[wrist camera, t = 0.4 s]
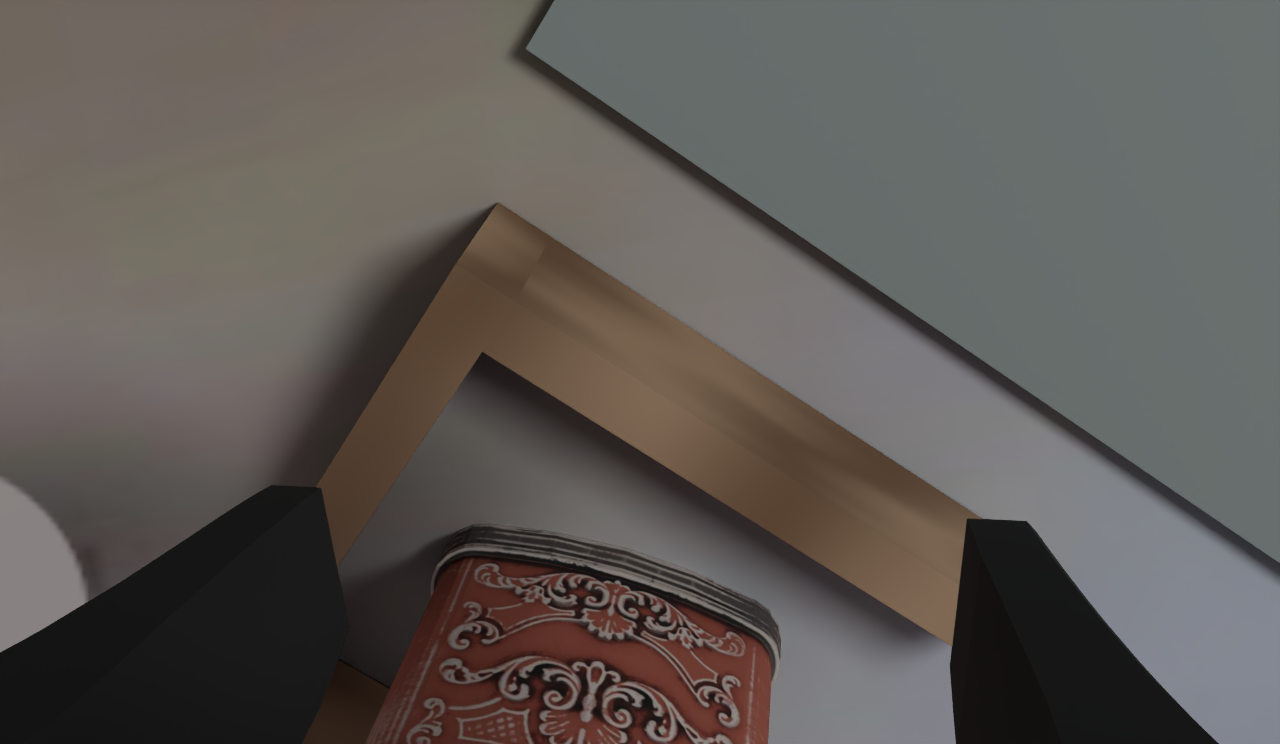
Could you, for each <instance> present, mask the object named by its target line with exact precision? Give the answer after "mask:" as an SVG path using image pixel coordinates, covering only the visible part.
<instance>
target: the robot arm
mask: <svg viewBox="0 0 1280 744" xmlns="http://www.w3.org/2000/svg"><path fill="white" fill-rule="evenodd" d="M348 629H349V624H348V619H347V614H346V609H345V604H344V599H343V594H342V589H341V584H340V579H339V574H338V569H337V564H336V559H335V554H334V549H333V544H332V539H331V534H330V529H329V524H328V519H327V514H326V509H325V504H324V499H323V494H322V489H321V488H317V487H296V486H275V485H271V486H269V487H268V488H266V489H264V490H262V491H260V492H259V493H257V494H255V495H253V496H252V497H250V498H248V499H247V500H245V501H244V502H242V503H240V504H239V505H237V506H236V507H234V508H233V509H231V510H230V511H228V512H226V513H225V514H223V515H222V516H220V517H219V518H217V519H216V520H214V521H213V522H211V523H210V524H208V525H207V526H205V527H204V528H202V529H201V530H199V531H198V532H196V533H195V534H193V535H192V536H190V537H189V538H187V539H186V540H184V541H183V542H181V543H180V544H178V545H177V546H175V547H174V548H172V549H170V550H169V551H167V552H166V553H164V554H163V555H161V556H160V557H158V558H157V559H155V560H154V561H152V562H151V563H149V564H148V565H146V566H145V567H143V568H142V569H140V570H138V571H137V572H135V573H134V574H132V575H131V576H129V577H128V578H126V579H125V580H123V581H122V582H120V583H118V584H117V585H115V586H113V587H112V588H110V589H108V590H107V591H105V592H103V593H102V594H100V595H98V596H97V597H95V598H94V599H92V600H90V601H89V602H87V603H85V604H84V605H82V606H80V607H79V608H77V609H75V610H74V611H72V612H70V613H69V614H67V615H65V616H64V617H62V618H60V619H59V620H57V621H55V622H54V623H52V624H51V625H49V626H47V627H46V628H44V629H42V630H40V631H39V632H37V633H35V634H33V635H32V636H30V637H28V638H26V639H25V640H23V641H21V642H19V643H17V644H15V645H13V646H12V647H10V648H8V649H6V650H4V651H2V652H1V653H0V744H302V742H303V740H304V738H305V736H306V734H307V732H308V730H309V728H310V726H311V724H312V722H313V720H314V718H315V716H316V714H317V712H318V710H319V709H320V707H321V705H322V702H323V699H324V697H325V694H326V691H327V689H328V686H329V683H330V681H331V678H332V676H333V673H334V670H335V667H336V664H337V661H338V659H339V656H340V653H341V650H342V647H343V644H344V641H345V638H346V635H347V632H348ZM950 673H951V687H952V700H953V714H954V726H955V737H956V744H1219V743H1217V742H1216V741H1215V740H1214V739H1213V738H1212V737H1211V736H1210V735H1209V734H1208V733H1207V732H1206V731H1205V730H1204V729H1203V728H1202V727H1201V726H1200V725H1199V724H1198V723H1197V722H1196V721H1195V720H1194V719H1193V718H1192V717H1191V716H1190V715H1189V714H1188V713H1187V712H1186V711H1185V710H1184V709H1183V708H1182V707H1181V706H1180V705H1179V704H1178V703H1177V702H1176V701H1175V700H1174V699H1173V698H1172V697H1171V695H1170V694H1169V693H1168V692H1167V691H1166V690H1165V689H1164V688H1163V687H1162V686H1161V685H1160V684H1159V683H1158V682H1157V681H1156V680H1155V678H1154V677H1153V676H1152V675H1151V674H1150V673H1149V672H1148V671H1147V670H1146V669H1145V667H1144V666H1143V665H1142V664H1141V663H1140V662H1139V661H1138V660H1137V658H1136V657H1135V656H1134V655H1133V654H1132V653H1131V651H1130V650H1129V649H1128V648H1127V647H1126V646H1125V644H1124V643H1123V642H1122V641H1121V640H1120V639H1119V637H1118V636H1117V635H1116V634H1115V633H1114V632H1113V630H1112V629H1111V628H1110V627H1109V626H1108V625H1107V623H1106V622H1105V621H1104V620H1103V619H1102V617H1101V616H1100V615H1099V614H1098V612H1097V611H1096V610H1095V609H1094V607H1093V606H1092V605H1091V604H1090V602H1089V601H1088V600H1087V599H1086V597H1085V596H1084V595H1083V594H1082V592H1081V591H1080V590H1079V588H1078V587H1077V586H1076V585H1075V583H1074V582H1073V581H1072V579H1071V578H1070V577H1069V575H1068V574H1067V573H1066V571H1065V570H1064V569H1063V568H1062V566H1061V565H1060V564H1059V562H1058V561H1057V559H1056V558H1055V557H1054V555H1053V554H1052V553H1051V551H1050V550H1049V549H1048V547H1047V546H1046V544H1045V543H1044V542H1043V540H1042V539H1041V538H1040V536H1039V535H1038V533H1037V532H1036V531H1035V530H1034V529H1033V528H1032V527H1031V525H1030V524H1029V523H1028V522H1027V521H1012V520H991V519H970V518H967V522H966V530H965V539H964V548H963V557H962V565H961V574H960V583H959V592H958V600H957V609H956V618H955V626H954V635H953V644H952V653H951V661H950Z"/></svg>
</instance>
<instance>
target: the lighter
mask: <svg viewBox="0 0 1280 744" xmlns="http://www.w3.org/2000/svg"><path fill="white" fill-rule="evenodd" d="M780 650H781V636H780V631H779V626H778V622H777V621H776V619H775V618H774V616H773V615H772V613H771V612H770V611H769V610H768V609H767V608H766V607H764V606H763V605H761V604H760V603H759V602H757V601H756V600H753V599H751V598H749V597H747V596H745V595H743V594H741V593H738V592H736V591H734V590H732V589H730V588H728V587H725V586H723V585H721V584H719V583H717V582H715V581H713V580H710V579H708V578H706V577H704V576H702V575H700V574H697V573H695V572H693V571H690V570H687V569H684V568H681V567H678V566H675V565H673V564H670V563H667V562H664V561H661V560H658V559H655V558H653V557H650V556H647V555H644V554H641V553H638V552H636V551H633V550H630V549H627V548H622V547H618V546H614V545H609V544H605V543H600V542H596V541H592V540H587V539H583V538H579V537H574V536H570V535H565V534H561V533H556V532H548V531H541V530H533V529H525V528H518V527H510V526H502V525H494V524H479V525H472V526H470V527H467V528H465V529H463V530H460V531H459V532H457V533H456V534H455V535H454V536H453V537H452V538H451V539H450V540H449V541H448V543H447V545H446V547H445V549H444V551H443V553H442V556H441V558H440V560H439V562H438V564H437V567H436V569H435V571H434V574H433V576H432V578H431V599H430V601H429V603H428V605H427V608H426V610H425V612H424V614H423V617H422V619H421V621H420V623H419V625H418V628H417V630H416V632H415V634H414V637H413V639H412V641H411V643H410V645H409V648H408V650H407V652H406V654H405V657H404V659H403V661H402V663H401V665H400V668H399V670H398V672H397V674H396V677H395V679H394V681H393V683H392V685H391V688H390V690H389V692H388V694H387V697H386V699H385V701H384V703H383V705H382V708H381V710H380V712H379V714H378V716H377V719H376V721H375V723H374V725H373V728H372V730H371V732H370V734H369V736H368V739H367V741H366V743H365V744H768V733H769V713H770V693H771V687H772V686H773V684H774V683H775V681H776V680H777V676H778V671H779V666H780Z"/></svg>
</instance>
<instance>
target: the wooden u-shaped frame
mask: <svg viewBox="0 0 1280 744" xmlns="http://www.w3.org/2000/svg"><path fill="white" fill-rule="evenodd" d="M482 352H484V353H485V354H487V355H488V356H490V357H492V358H493V359H495V360H496V361H498V362H499V363H501V364H503V365H504V366H506V367H507V368H509V369H511V370H512V371H514V372H515V373H517V374H519V375H520V376H522V377H523V378H525V379H527V380H528V381H530V382H531V383H533V384H535V385H536V386H538V387H539V388H541V389H543V390H544V391H546V392H547V393H549V394H550V395H552V396H554V397H555V398H557V399H558V400H560V401H562V402H563V403H565V404H566V405H568V406H570V407H571V408H573V409H574V410H576V411H578V412H579V413H581V414H582V415H584V416H586V417H587V418H589V419H590V420H592V421H594V422H595V423H597V424H598V425H600V426H601V427H603V428H605V429H606V430H608V431H609V432H611V433H613V434H614V435H616V436H617V437H619V438H621V439H622V440H624V441H625V442H627V443H629V444H630V445H632V446H633V447H635V448H637V449H638V450H640V451H641V452H643V453H645V454H646V455H648V456H649V457H651V458H652V459H654V460H656V461H657V462H659V463H660V464H662V465H664V466H665V467H667V468H668V469H670V470H672V471H673V472H675V473H676V474H678V475H680V476H681V477H683V478H684V479H686V480H688V481H689V482H691V483H692V484H694V485H696V486H697V487H699V488H700V489H702V490H703V491H705V492H707V493H708V494H710V495H711V496H713V497H715V498H716V499H718V500H719V501H721V502H723V503H724V504H726V505H727V506H729V507H731V508H732V509H734V510H735V511H737V512H739V513H740V514H742V515H743V516H745V517H747V518H748V519H750V520H751V521H753V522H755V523H756V524H758V525H759V526H761V527H762V528H764V529H766V530H767V531H769V532H770V533H772V534H774V535H775V536H777V537H778V538H780V539H782V540H783V541H785V542H786V543H788V544H790V545H791V546H793V547H794V548H796V549H798V550H799V551H801V552H802V553H804V554H806V555H807V556H809V557H810V558H812V559H813V560H815V561H817V562H818V563H820V564H821V565H823V566H825V567H826V568H828V569H829V570H831V571H833V572H834V573H836V574H837V575H839V576H841V577H842V578H844V579H845V580H847V581H849V582H850V583H852V584H853V585H855V586H857V587H858V588H860V589H861V590H863V591H864V592H866V593H868V594H869V595H871V596H872V597H874V598H876V599H877V600H879V601H880V602H882V603H884V604H885V605H887V606H888V607H890V608H892V609H893V610H895V611H896V612H898V613H900V614H901V615H903V616H904V617H906V618H908V619H909V620H911V621H912V622H914V623H915V624H917V625H919V626H920V627H922V628H923V629H925V630H927V631H928V632H930V633H931V634H933V635H935V636H936V637H938V638H939V639H941V640H943V641H944V642H946V643H947V644H949V645H951V646H952V644H953V635H954V626H955V618H956V609H957V600H958V592H959V583H960V574H961V565H962V557H963V548H964V539H965V530H966V522H967V518H970V519H982V518H980V517H979V516H977V515H976V514H974V513H973V512H971V511H970V510H968V509H966V508H965V507H963V506H962V505H960V504H959V503H957V502H956V501H954V500H953V499H951V498H950V497H948V496H947V495H945V494H944V493H942V492H940V491H939V490H937V489H936V488H934V487H933V486H931V485H930V484H928V483H927V482H925V481H924V480H922V479H921V478H919V477H917V476H916V475H914V474H913V473H911V472H910V471H908V470H907V469H905V468H904V467H902V466H901V465H899V464H898V463H896V462H895V461H893V460H891V459H890V458H888V457H887V456H885V455H884V454H882V453H881V452H879V451H878V450H876V449H875V448H873V447H872V446H870V445H869V444H867V443H865V442H864V441H862V440H861V439H859V438H858V437H856V436H855V435H853V434H852V433H850V432H849V431H847V430H846V429H844V428H843V427H841V426H839V425H838V424H836V423H835V422H833V421H832V420H830V419H829V418H827V417H826V416H824V415H823V414H821V413H820V412H818V411H817V410H815V409H813V408H812V407H810V406H809V405H807V404H806V403H804V402H803V401H801V400H800V399H798V398H797V397H795V396H794V395H792V394H791V393H789V392H787V391H786V390H784V389H783V388H781V387H780V386H778V385H777V384H775V383H774V382H772V381H771V380H769V379H768V378H766V377H764V376H763V375H761V374H760V373H758V372H757V371H755V370H754V369H752V368H751V367H749V366H748V365H746V364H745V363H743V362H742V361H740V360H738V359H737V358H735V357H734V356H732V355H731V354H729V353H728V352H726V351H725V350H723V349H722V348H720V347H719V346H717V345H716V344H714V343H712V342H711V341H709V340H708V339H706V338H705V337H703V336H702V335H700V334H699V333H697V332H696V331H694V330H693V329H691V328H690V327H688V326H686V325H685V324H683V323H682V322H680V321H679V320H677V319H676V318H674V317H673V316H671V315H670V314H668V313H667V312H665V311H664V310H662V309H660V308H659V307H657V306H656V305H654V304H653V303H651V302H650V301H648V300H647V299H645V298H644V297H642V296H641V295H639V294H638V293H636V292H634V291H633V290H631V289H630V288H628V287H627V286H625V285H624V284H622V283H621V282H619V281H618V280H616V279H615V278H613V277H611V276H610V275H608V274H607V273H605V272H604V271H602V270H601V269H599V268H598V267H596V266H595V265H593V264H592V263H590V262H589V261H587V260H585V259H584V258H582V257H581V256H579V255H578V254H576V253H575V252H573V251H572V250H570V249H569V248H567V247H566V246H564V245H563V244H561V243H559V242H558V241H556V240H555V239H553V238H552V237H550V236H549V235H547V234H546V233H544V232H543V231H541V230H540V229H538V228H537V227H535V226H533V225H532V224H530V223H529V222H527V221H526V220H524V219H523V218H521V217H520V216H518V215H517V214H515V213H514V212H512V211H511V210H509V209H507V208H506V207H504V206H503V205H501V204H500V203H497V205H496V206H495V208H494V209H493V210H492V212H491V213H490V215H489V216H488V218H487V219H486V221H485V222H484V223H483V225H482V226H481V228H480V229H479V231H478V232H477V234H476V235H475V237H474V238H473V239H472V241H471V242H470V244H469V245H468V247H467V248H466V250H465V251H464V253H463V254H462V255H461V257H460V258H459V260H458V261H457V263H456V264H455V266H454V267H453V269H452V271H451V272H450V274H449V275H448V277H447V279H446V280H445V282H444V283H443V285H442V286H441V288H440V290H439V291H438V293H437V294H436V296H435V298H434V299H433V301H432V302H431V304H430V306H429V307H428V309H427V310H426V312H425V314H424V315H423V317H422V318H421V320H420V322H419V323H418V325H417V326H416V328H415V330H414V331H413V333H412V334H411V336H410V338H409V339H408V341H407V342H406V344H405V345H404V347H403V349H402V350H401V352H400V353H399V355H398V357H397V358H396V360H395V361H394V363H393V365H392V366H391V368H390V369H389V371H388V373H387V374H386V376H385V377H384V379H383V381H382V382H381V384H380V385H379V387H378V389H377V390H376V392H375V393H374V395H373V397H372V398H371V400H370V401H369V403H368V404H367V406H366V408H365V409H364V411H363V412H362V414H361V416H360V417H359V419H358V420H357V422H356V424H355V425H354V427H353V428H352V430H351V432H350V433H349V435H348V436H347V438H346V440H345V441H344V443H343V444H342V446H341V448H340V449H339V451H338V452H337V454H336V456H335V457H334V459H333V460H332V462H331V464H330V465H329V467H328V468H327V470H326V471H325V473H324V475H323V476H322V478H321V479H320V481H319V483H318V484H317V486H316V487H317V488H321V489H322V494H323V499H324V504H325V509H326V514H327V519H328V524H329V529H330V534H331V539H332V544H333V549H334V554H335V559H336V564H337V567H338V565H339V564H340V562H341V561H342V559H343V558H344V556H345V555H346V553H347V552H348V550H349V549H350V547H351V546H352V544H353V543H354V542H355V540H356V539H357V537H358V536H359V534H360V533H361V531H362V530H363V528H364V527H365V525H366V524H367V522H368V521H369V519H370V518H371V516H372V515H373V513H374V512H375V510H376V509H377V507H378V506H379V504H380V503H381V501H382V500H383V498H384V497H385V495H386V494H387V492H388V491H389V490H390V488H391V487H392V485H393V484H394V482H395V481H396V479H397V478H398V476H399V475H400V473H401V472H402V470H403V469H404V467H405V466H406V464H407V463H408V461H409V460H410V458H411V457H412V455H413V454H414V452H415V451H416V449H417V448H418V446H419V445H420V443H421V442H422V440H423V439H424V438H425V436H426V435H427V433H428V432H429V430H430V429H431V427H432V426H433V424H434V423H435V421H436V420H437V418H438V417H439V415H440V414H441V412H442V411H443V409H444V408H445V406H446V405H447V403H448V402H449V400H450V399H451V397H452V396H453V394H454V393H455V391H456V390H457V388H458V387H459V386H460V384H461V383H462V381H463V380H464V378H465V377H466V375H467V374H468V372H469V371H470V369H471V368H472V366H473V365H474V363H475V362H476V360H477V359H478V357H479V356H480V354H481V353H482ZM389 690H390V689H389V688H387V687H385V686H384V685H382V684H380V683H378V682H377V681H375V680H373V679H371V678H369V677H368V676H366V675H364V674H362V673H361V672H359V671H357V670H355V669H353V668H352V667H350V666H348V665H346V664H345V663H343V662H341V661H339V660H338V661H337V664H336V667H335V670H334V673H333V676H332V678H331V681H330V683H329V686H328V689H327V691H326V694H325V697H324V699H323V702H322V705H321V707H320V709H319V710H318V712H317V714H316V716H315V718H314V720H313V722H312V724H311V726H310V728H309V730H308V732H307V734H306V736H305V738H304V740H303V742H302V744H365V743H366V741H367V739H368V736H369V734H370V732H371V730H372V728H373V725H374V723H375V721H376V719H377V716H378V714H379V712H380V710H381V708H382V705H383V703H384V701H385V699H386V697H387V694H388V692H389Z"/></svg>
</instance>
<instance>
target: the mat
mask: <svg viewBox="0 0 1280 744" xmlns="http://www.w3.org/2000/svg"><path fill="white" fill-rule="evenodd" d="M526 50H528V51H529V52H531V53H532V54H534V55H535V56H537V57H538V58H540V59H541V60H543V61H544V62H546V63H547V64H548V65H550V66H551V67H553V68H554V69H556V70H557V71H559V72H560V73H562V74H563V75H565V76H566V77H568V78H569V79H570V80H572V81H573V82H575V83H576V84H578V85H579V86H581V87H582V88H584V89H585V90H587V91H588V92H590V93H591V94H592V95H594V96H595V97H597V98H598V99H600V100H601V101H603V102H604V103H606V104H607V105H609V106H610V107H612V108H613V109H614V110H616V111H617V112H619V113H620V114H622V115H623V116H625V117H626V118H628V119H629V120H631V121H632V122H634V123H635V124H636V125H638V126H639V127H641V128H642V129H644V130H645V131H647V132H648V133H650V134H651V135H653V136H654V137H656V138H657V139H658V140H660V141H661V142H663V143H664V144H666V145H667V146H669V147H670V148H672V149H673V150H675V151H676V152H678V153H679V154H680V155H682V156H683V157H685V158H686V159H688V160H689V161H691V162H692V163H694V164H695V165H697V166H698V167H700V168H701V169H702V170H704V171H705V172H707V173H708V174H710V175H711V176H713V177H714V178H716V179H717V180H719V181H720V182H722V183H723V184H724V185H726V186H727V187H729V188H730V189H732V190H733V191H735V192H736V193H738V194H739V195H741V196H742V197H744V198H745V199H746V200H748V201H749V202H751V203H752V204H754V205H755V206H757V207H758V208H760V209H761V210H763V211H764V212H766V213H767V214H768V215H770V216H771V217H773V218H774V219H776V220H777V221H779V222H780V223H782V224H783V225H785V226H786V227H788V228H789V229H790V230H792V231H793V232H795V233H796V234H798V235H799V236H801V237H802V238H804V239H805V240H807V241H808V242H809V243H811V244H812V245H814V246H815V247H817V248H818V249H820V250H821V251H823V252H824V253H826V254H827V255H829V256H830V257H831V258H833V259H834V260H836V261H837V262H839V263H840V264H842V265H843V266H845V267H846V268H848V269H849V270H851V271H852V272H853V273H855V274H856V275H858V276H859V277H861V278H862V279H864V280H865V281H867V282H868V283H870V284H871V285H873V286H874V287H875V288H877V289H878V290H880V291H881V292H883V293H884V294H886V295H887V296H889V297H890V298H892V299H893V300H895V301H896V302H897V303H899V304H900V305H902V306H903V307H905V308H906V309H908V310H909V311H911V312H912V313H914V314H915V315H917V316H918V317H919V318H921V319H922V320H924V321H925V322H927V323H928V324H930V325H931V326H933V327H934V328H936V329H937V330H939V331H940V332H941V333H943V334H944V335H946V336H947V337H949V338H950V339H952V340H953V341H955V342H956V343H958V344H959V345H961V346H962V347H963V348H965V349H966V350H968V351H969V352H971V353H972V354H974V355H975V356H977V357H978V358H980V359H981V360H983V361H984V362H985V363H987V364H988V365H990V366H991V367H993V368H994V369H996V370H997V371H999V372H1000V373H1002V374H1003V375H1005V376H1006V377H1007V378H1009V379H1010V380H1012V381H1013V382H1015V383H1016V384H1018V385H1019V386H1021V387H1022V388H1024V389H1025V390H1027V391H1028V392H1029V393H1031V394H1032V395H1034V396H1035V397H1037V398H1038V399H1040V400H1041V401H1043V402H1044V403H1046V404H1047V405H1049V406H1050V407H1051V408H1053V409H1054V410H1056V411H1057V412H1059V413H1060V414H1062V415H1063V416H1065V417H1066V418H1068V419H1069V420H1071V421H1072V422H1073V423H1075V424H1076V425H1078V426H1079V427H1081V428H1082V429H1084V430H1085V431H1087V432H1088V433H1090V434H1091V435H1093V436H1094V437H1095V438H1097V439H1098V440H1100V441H1101V442H1103V443H1104V444H1106V445H1107V446H1109V447H1110V448H1112V449H1113V450H1115V451H1116V452H1117V453H1119V454H1120V455H1122V456H1123V457H1125V458H1126V459H1128V460H1129V461H1131V462H1132V463H1134V464H1135V465H1137V466H1138V467H1139V468H1141V469H1142V470H1144V471H1145V472H1147V473H1148V474H1150V475H1151V476H1153V477H1154V478H1156V479H1157V480H1159V481H1160V482H1161V483H1163V484H1164V485H1166V486H1167V487H1169V488H1170V489H1172V490H1173V491H1175V492H1176V493H1178V494H1179V495H1181V496H1182V497H1183V498H1185V499H1186V500H1188V501H1189V502H1191V503H1192V504H1194V505H1195V506H1197V507H1198V508H1200V509H1201V510H1203V511H1204V512H1205V513H1207V514H1208V515H1210V516H1211V517H1213V518H1214V519H1216V520H1217V521H1219V522H1220V523H1222V524H1223V525H1224V526H1226V527H1227V528H1229V529H1230V530H1232V531H1233V532H1235V533H1236V534H1238V535H1239V536H1241V537H1242V538H1244V539H1245V540H1246V541H1248V542H1249V543H1251V544H1252V545H1254V546H1255V547H1257V548H1258V549H1260V550H1261V551H1263V552H1264V553H1266V554H1267V555H1268V556H1270V557H1271V558H1273V559H1274V560H1276V561H1277V562H1279V563H1280V0H554V2H553V3H552V5H551V7H550V9H549V10H548V12H547V14H546V15H545V17H544V19H543V20H542V22H541V24H540V25H539V27H538V29H537V30H536V32H535V34H534V35H533V37H532V39H531V40H530V42H529V44H528V45H527V47H526Z"/></svg>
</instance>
